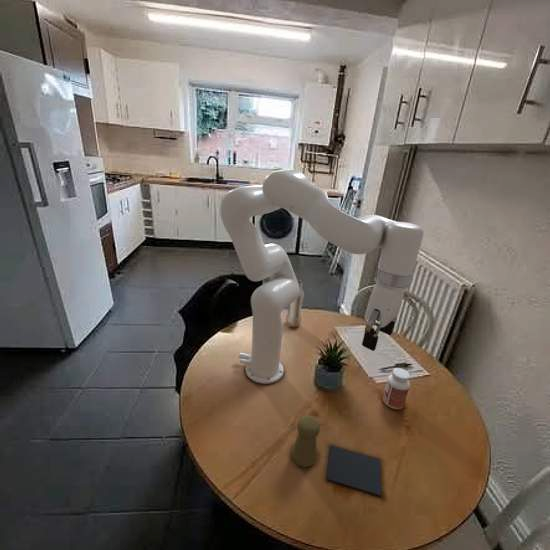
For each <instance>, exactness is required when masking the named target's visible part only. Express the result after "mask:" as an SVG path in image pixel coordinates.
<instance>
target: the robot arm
mask: <svg viewBox="0 0 550 550" xmlns="http://www.w3.org/2000/svg"><path fill="white" fill-rule="evenodd" d="M219 209H220V211H219V212H220V219H221V221H222V224H223V226H224V228H225V231H226V232H227V234H228V236H229V238H230V239H231V242H232V245H233V247H234V249H235V252H236V255H237V257H238V259H239V262H240V265H241V267H242V271H243V272H244V275H245V277H246V278H247V279H248V280H249V281H252V282H260V281H261V282H262V281H263V280H266V279H268V278H269V281H267V282H265V283H263V284H261V285H260V286H258V287H257V288H256V289H255V290H254V291H253V293H252V295H251V297H250V307H251V313H252V327H251V328H252V332H251V333H252V334H251V348H250V349H251V350H250V353H249V354H247V353H244V352H240V353H239V355H238V358H239V363H240V364H243V365H244V364H245V374H246V376H247V378H249V379H250V380H251V381H253V382H255V383H258V384H263V385H266V384H273V383H276V382H278V381H280V379H281V378H282V377H283V375H284V369H285V368H284V366H283V364H282V363H281V352H282V345H283V344H282V343H283V333H284V321H283V318H282V312H283V310H284V309H286V308H287V307H289V305H290V304H291V303H293V302H294V301H295V300H296V299H297V298H298V296H299V285H298V281H297V280H298V279H297V276H296V273H295V271H294V269H293V266H292V263H291V259H290V258H289V256H288V254H287V252H286V250H285V249H284V248H283V247H282V246H280V245H279V244H277V243H268V244H265V243H264V240H263V238H262V234H261V232H260V231H259V229H258V228H257V226H256V225H255V224H254V223H253V222H252V220H250V218H252V217H257V216H262V215H266V214H270V213H273V212H275V211H278V210H281V209H282V210H286V211H288V212H290V213H291V214H293V215H294V216H297V217H298V218H300V219H302V220H304V221H306V222H307V223H308V224H309V225H310V227H311V228H312V229H313V230H314V231H315V232H316V233H317V234H318V236H320V237H321V238H322V239H323V240H325V241H327V242H328V243H330V244H332V245H334V246H335V247H337V248H339V249H340V250H343V251H345V252H347V253H349V254H353V255H366V254H368V253H370V252H371V251H373V250H374V249H377V248H378V249H379V248H380V249H381V252H380V255H379V260H378V265H377V269H376V272H375V273H376V274H375V278H374V282H375V283H374V286H373V289H372V291H371V294H370V297H369V300H368V304H367V307H366V309H365V315H364V321H365V325H364V326H365V327H364V334H363V338H362V342H361V345H362V346H363V347H364V348H366V349H368V350H370V351H373V352H375V350H376V349H377V345H378V341H379V337H380V336H379V332H381V333H383V334H386V335H388V336H392V334H393V332H394V328H395V324H396V320H397V317H398V315H399V313H400V310H401V308H402V303H403V299H404V295H405V290H408V289H409V288H410V284H411V282H412V278H413V274H414V270H415V267H416V263H417V259H418V255H419V252H420V249H421V245H422V242H423V238H424V229H423V228H422V227H421V225H418V224H415V223H411V222H406V221H395V220H393V219H390V218H387V217H384V216H381V215H377V214H368V215H364V216H361V217H359V218H357V217H356V216H353V215H351V214H349V213H347V212H345V211H343V210H341V209H339V208H338V207H336V206H335V205H334V204H332V203H331V202H330V200H329V194H328V192H327V191H326V190H325V189H323V188H321V187H319V186H316V185H315V184H313V183H310V182H309V180H308V178H307V176H306V175H305V174H304V173H303V172H301V171H299V170H296V169H278V170H274V171H271V172H270V173H268V174H267V175H266V176H265V178H263V182H262V184H260V185H247V186H238V187H235V188H233V189H231V190H229V191H228V192H226V194H225V195H224V196H223V198H222V200H221V203H220V208H219ZM376 321H377V322H376ZM374 326H375V327H376V329H375V328H374Z"/></svg>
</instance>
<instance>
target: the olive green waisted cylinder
mask: <svg viewBox="0 0 550 550" xmlns="http://www.w3.org/2000/svg"><path fill="white" fill-rule="evenodd" d="M320 428H321V426H320V423H319V421H318V419H316V418H315V417H314V416H312V415H304V416H302V417H300V419H299V420H298V422H297V426H296V429H297V432H298V433H297V434H296V435H297V436H296V438H295V441H294V445H293V447H292V450H291V456H292V459H293V461H294V463H296V464H297V465H299V466H301V467H304V468H307V467H311V466H313V465H314V464H315V463H316V461H317V437H318V435H319V434H320V431H321V429H320Z"/></svg>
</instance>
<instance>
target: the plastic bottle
mask: <svg viewBox="0 0 550 550" xmlns="http://www.w3.org/2000/svg"><path fill="white" fill-rule="evenodd" d="M297 281H298V285H299V296H298V298H297V299H296V300H295V301H294V302H293V303H291V304H290V305H288V309H287V314H286V316H285V323H286V325H287V326H288V327H291V328H298V327H299V326H301V323H302V306H303V301H304V298H305V292H304V289H303V288H302V287H303V281H302V280H299V279H297Z"/></svg>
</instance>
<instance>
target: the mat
mask: <svg viewBox="0 0 550 550" xmlns="http://www.w3.org/2000/svg"><path fill="white" fill-rule="evenodd" d="M380 460H381V459H380V458H377V457H374V456H370V455H366V454H363V453H359V452H357V451H352V450H349V449H346V448H341V447H339V446H334V445H330V446H329V454H328V464H327V475H326V480H327V481H329V482H332V483H336V484H339V485H342V486H346V487H348V488H351V489H356V490H358V491H361V492H365V493H368V494H372V495H375V496H378V497H382V478H381V463H380V462H381V461H380Z"/></svg>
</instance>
